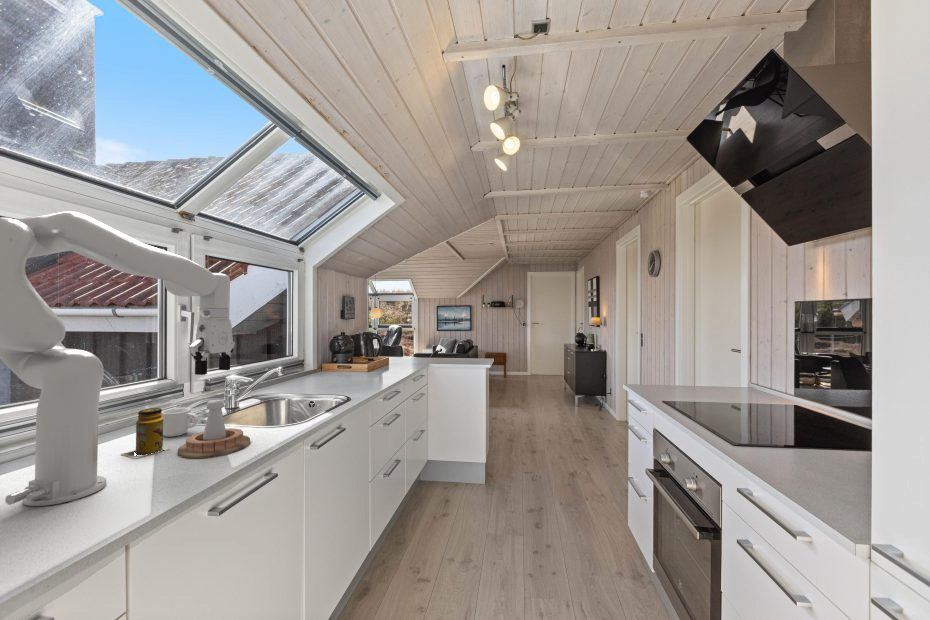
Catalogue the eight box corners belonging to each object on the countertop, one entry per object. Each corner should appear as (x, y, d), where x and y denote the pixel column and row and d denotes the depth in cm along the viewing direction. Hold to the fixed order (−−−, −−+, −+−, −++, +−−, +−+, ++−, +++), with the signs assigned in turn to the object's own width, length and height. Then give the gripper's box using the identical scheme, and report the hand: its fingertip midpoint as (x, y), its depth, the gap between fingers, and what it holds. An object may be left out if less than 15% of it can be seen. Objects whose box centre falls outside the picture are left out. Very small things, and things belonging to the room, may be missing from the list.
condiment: (169, 449, 111) (170, 408, 111) (135, 459, 103) (136, 415, 104) (155, 445, 114) (155, 405, 114) (120, 455, 106) (121, 412, 106)
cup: (204, 430, 129) (204, 407, 129) (189, 438, 121) (189, 413, 121) (171, 431, 128) (171, 407, 129) (153, 438, 120) (154, 413, 121)
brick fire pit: (224, 459, 104) (224, 446, 104) (160, 457, 104) (160, 445, 104) (262, 438, 122) (262, 427, 122) (207, 437, 122) (208, 426, 122)
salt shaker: (216, 447, 110) (217, 402, 110) (197, 447, 110) (198, 402, 110) (230, 441, 115) (231, 398, 116) (212, 440, 116) (213, 397, 116)
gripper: (205, 314, 105) (203, 376, 104) (245, 315, 122) (243, 368, 121) (179, 314, 105) (177, 376, 105) (222, 315, 122) (221, 368, 122)
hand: (213, 372), depth 113 cm, fingers open, 9 cm apart
